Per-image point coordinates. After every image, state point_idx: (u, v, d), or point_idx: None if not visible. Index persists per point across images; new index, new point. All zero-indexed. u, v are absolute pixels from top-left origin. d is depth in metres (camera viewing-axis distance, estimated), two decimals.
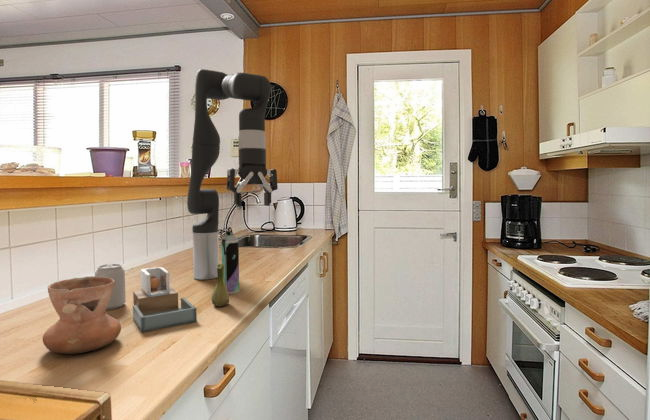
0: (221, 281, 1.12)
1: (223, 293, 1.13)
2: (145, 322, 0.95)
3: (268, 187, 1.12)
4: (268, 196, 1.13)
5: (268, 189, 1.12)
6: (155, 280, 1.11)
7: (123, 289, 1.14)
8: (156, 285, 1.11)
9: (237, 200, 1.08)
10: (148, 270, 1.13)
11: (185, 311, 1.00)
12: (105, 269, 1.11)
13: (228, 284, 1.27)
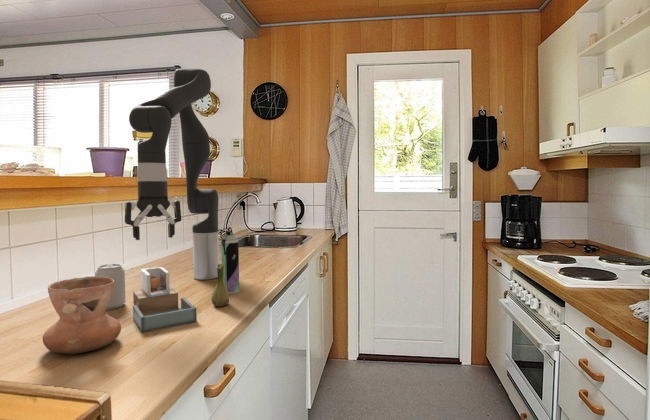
0: (221, 281, 1.12)
1: (223, 293, 1.13)
2: (145, 322, 0.95)
3: (170, 219, 1.11)
4: (171, 228, 1.11)
5: (170, 221, 1.11)
6: (155, 280, 1.11)
7: (123, 289, 1.14)
8: (156, 285, 1.11)
9: (135, 233, 1.07)
10: (148, 270, 1.13)
11: (185, 311, 1.00)
12: (105, 269, 1.11)
13: (228, 284, 1.27)
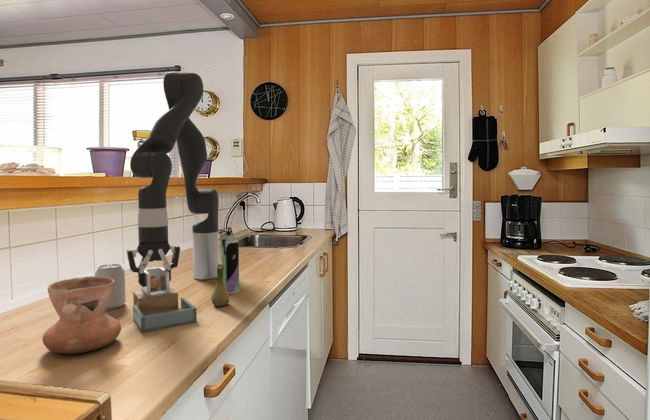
0: (221, 281, 1.12)
1: (223, 293, 1.13)
2: (145, 322, 0.95)
3: (167, 265, 1.11)
4: None
5: (167, 267, 1.11)
6: (155, 280, 1.11)
7: (123, 289, 1.14)
8: (156, 285, 1.11)
9: (140, 280, 1.08)
10: (148, 270, 1.13)
11: (185, 311, 1.00)
12: (105, 269, 1.11)
13: (228, 284, 1.27)
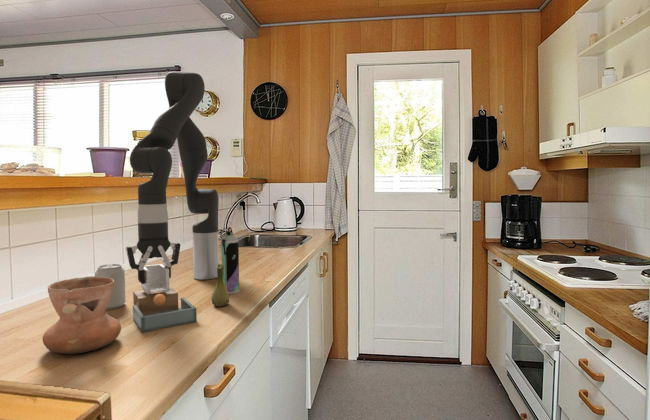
0: (221, 281, 1.12)
1: (223, 293, 1.13)
2: (145, 322, 0.95)
3: (167, 262, 1.10)
4: None
5: (167, 264, 1.10)
6: (158, 296, 1.03)
7: (123, 289, 1.14)
8: (161, 300, 1.03)
9: (140, 277, 1.07)
10: (148, 267, 1.12)
11: (185, 311, 1.00)
12: (105, 269, 1.11)
13: (228, 284, 1.27)
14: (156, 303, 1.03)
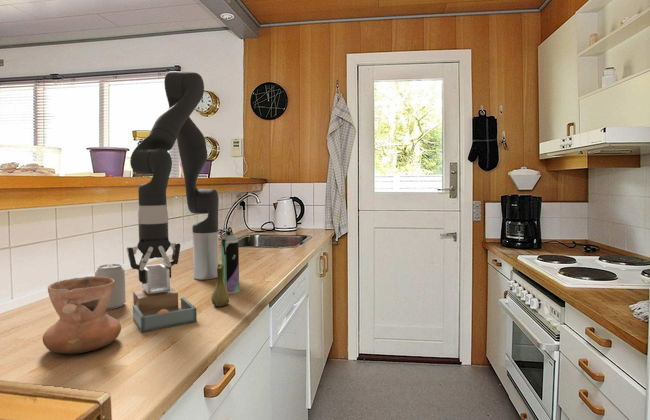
0: (221, 281, 1.12)
1: (223, 293, 1.13)
2: (145, 322, 0.95)
3: (168, 262, 1.11)
4: None
5: (167, 264, 1.11)
6: None
7: (123, 289, 1.14)
8: None
9: (141, 277, 1.08)
10: (148, 267, 1.13)
11: (185, 311, 1.00)
12: (105, 269, 1.11)
13: (228, 284, 1.27)
14: (158, 312, 1.00)
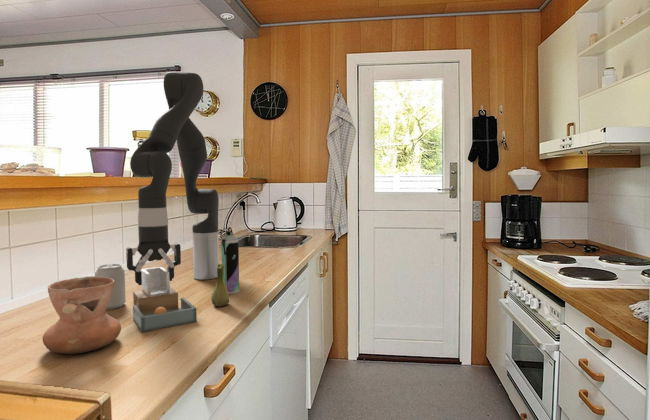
0: (221, 281, 1.12)
1: (223, 293, 1.13)
2: (145, 322, 0.95)
3: (170, 263, 1.12)
4: (170, 272, 1.12)
5: (170, 265, 1.12)
6: None
7: (123, 289, 1.14)
8: None
9: (137, 279, 1.08)
10: (148, 270, 1.13)
11: (185, 311, 1.00)
12: (105, 269, 1.11)
13: (228, 284, 1.27)
14: None
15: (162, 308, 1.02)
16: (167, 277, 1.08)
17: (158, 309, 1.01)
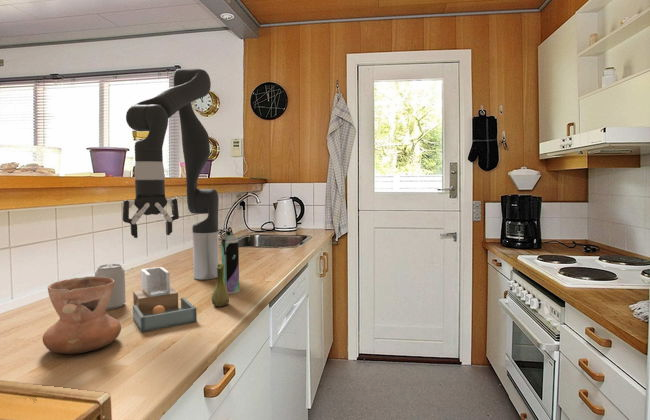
0: (221, 281, 1.12)
1: (223, 293, 1.13)
2: (145, 322, 0.95)
3: (168, 217, 1.12)
4: (168, 226, 1.13)
5: (168, 219, 1.12)
6: (159, 311, 1.02)
7: (123, 289, 1.14)
8: None
9: (133, 231, 1.08)
10: (148, 270, 1.13)
11: (185, 311, 1.00)
12: (105, 269, 1.11)
13: (228, 284, 1.27)
14: None
15: None
16: (167, 277, 1.08)
17: None
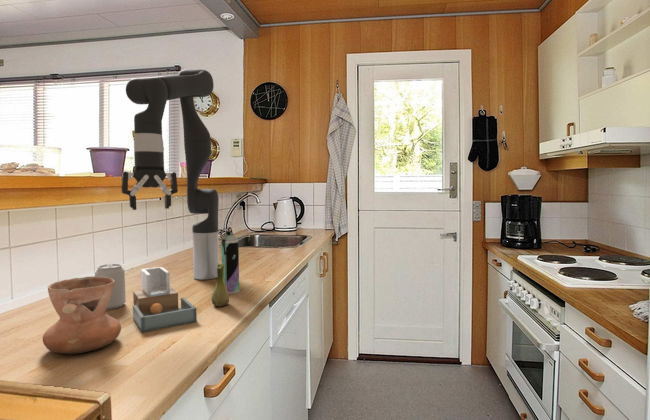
0: (221, 281, 1.12)
1: (223, 293, 1.13)
2: (145, 322, 0.95)
3: (167, 190, 1.13)
4: (167, 199, 1.13)
5: (167, 192, 1.13)
6: None
7: (123, 289, 1.14)
8: (158, 305, 1.05)
9: (132, 203, 1.08)
10: (148, 270, 1.13)
11: (185, 311, 1.00)
12: (105, 269, 1.11)
13: (228, 284, 1.27)
14: (153, 308, 1.04)
15: None
16: (167, 277, 1.08)
17: None
